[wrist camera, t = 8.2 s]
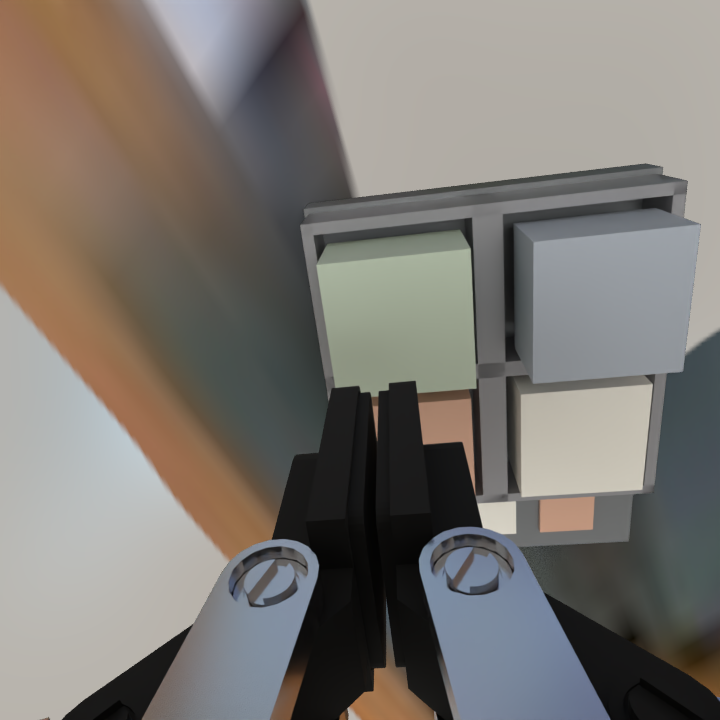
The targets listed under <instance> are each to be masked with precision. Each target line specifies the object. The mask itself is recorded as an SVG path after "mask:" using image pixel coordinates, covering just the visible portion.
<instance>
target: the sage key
mask: <svg viewBox="0 0 720 720" xmlns="http://www.w3.org/2000/svg"><path fill="white" fill-rule="evenodd" d="M316 266H317V273H318V279H319V286H320V292H321V298H322V305H323V311H324V318H325V324H326V331H327V337H328V344H329V350H330V356H331V363H332V369H333V376H334V382H335V388H339V387H350V386H359V387H360V391H361V393H363V392H370V393H371V397H377V396H378V393H379V391H386V390H389V383H395V382H406V381H416V387H417V393H426V392H439V391H451V390H463V389H476V388H477V387H476V363H475V339H474V315H473V291H472V267H471V248H470V247H469V245H468V243H467V241H466V239H465V238H464V236H463V234H462V232H461V230H460V229H457V230H448V231H439V232H430V233H421V234H412V235H403V236H394V237H385V238H376V239H366V240H357V241H348V242H339V243H330V244H327V246H326V248H325V249H324V251H323V253H322V255H321V257H320V259H319V261H318V263H317V265H316Z"/></svg>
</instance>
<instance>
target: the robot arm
mask: <svg viewBox="0 0 720 720" xmlns="http://www.w3.org/2000/svg"><path fill="white" fill-rule="evenodd" d="M386 599H387V607H388V614H389V621H390V628H391V636H392V643H393V650H394V657H395V664H396V667H406V673H407V681H408V689H410V690H411V691H412V692H413V693H414V694H415V695H416V696H418V697H419V698H420V699H421V700H422V701H423V702H425V703H426V704H427V705H428V706H429V707H430V708H431V709H433V710H434V715H435V720H720V698H719V697H716V696H715V695H714V694H713V693H712V692H711V691H710V690H709V689H708V688H706V687H705V686H703V685H702V684H700V683H699V682H698V681H696V680H695V679H693V678H692V677H691V676H689V675H687V674H686V673H684V672H682V671H680V670H679V669H677V668H675V667H673V666H672V665H670V664H668V663H666V662H665V661H663V660H661V659H659V658H658V657H656V656H654V655H652V654H651V653H649V652H647V651H645V650H644V649H642V648H640V647H638V646H637V645H635V644H633V643H631V642H630V641H628V640H626V639H624V638H623V637H621V636H619V635H617V634H616V633H614V632H612V631H610V630H609V629H607V628H605V627H603V626H602V625H600V624H598V623H596V622H595V621H593V620H591V619H589V618H588V617H586V616H584V615H582V614H581V613H579V612H577V611H575V610H574V609H572V608H570V607H568V606H567V605H565V604H563V603H561V602H560V601H558V600H556V599H554V598H553V597H551V596H549V595H547V594H546V593H544V592H543V591H542V589H541V587H540V585H539V584H538V582H537V580H536V578H535V576H534V574H533V572H532V570H531V568H530V567H529V565H528V563H527V561H526V559H525V557H524V555H523V553H522V552H521V551H520V550H519V548H518V547H517V546H516V544H515V543H514V542H512V541H511V540H510V539H508V538H507V537H505V536H504V535H502V534H500V533H497V532H495V531H492V530H489V529H485V528H483V526H482V522H481V517H480V513H479V509H478V505H477V500H476V496H475V492H474V488H473V483H472V479H471V475H470V471H469V466H468V462H467V458H466V454H465V449H464V445H463V442H449V443H437V444H424V445H423V440H422V431H421V422H420V413H419V404H418V395H417V387H416V381H406V382H395V383H389V390H386V391H379V393H378V432H377V437H376V429H375V421H374V413H373V406H372V398H371V393H370V392H363V393H361V391H360V387H359V386H350V387H339V388H332V389H331V394H330V399H329V404H328V409H327V414H326V419H325V424H324V429H323V434H322V439H321V444H320V450H319V453H311V454H299V455H296V456H295V457H294V459H293V462H292V466H291V470H290V473H289V477H288V481H287V485H286V488H285V492H284V496H283V500H282V503H281V507H280V511H279V515H278V518H277V522H276V526H275V530H274V533H273V537H272V540H269V541H265V542H262V543H258V544H255V545H253V546H251V547H249V548H247V549H245V550H243V551H242V552H240V553H239V554H238V555H237V556H235V557H234V558H233V559H232V560H231V561H230V562H229V563H228V564H227V566H226V567H225V568H224V570H223V571H222V573H221V574H220V576H219V578H218V580H217V582H216V584H215V586H214V587H213V589H212V591H211V593H210V595H209V596H208V598H207V600H206V602H205V604H204V606H203V607H202V609H201V611H200V613H199V615H198V617H197V619H196V620H195V622H194V624H193V625H191V626H190V627H188V628H187V629H186V630H184V631H183V632H181V633H180V634H178V635H177V636H175V637H174V638H172V639H171V640H170V641H168V642H167V643H165V644H164V645H163V646H161V647H160V648H158V649H157V650H155V651H154V652H153V653H151V654H150V655H148V656H147V657H145V658H144V659H142V660H141V661H140V662H138V663H137V664H135V665H134V666H132V667H131V668H129V669H128V670H127V671H125V672H124V673H122V674H121V675H119V676H118V677H116V678H115V679H114V680H112V681H111V682H109V683H108V684H106V685H105V686H104V687H102V688H101V689H99V690H98V691H96V692H95V693H93V694H92V695H91V696H89V697H88V698H86V699H85V700H83V701H82V702H81V703H80V704H79V705H77V706H76V707H75V708H74V709H73V710H72V711H71V712H69V713H68V714H67V715H66V716H65V717H64V718H63V719H62V720H348V710H347V708H348V707H349V706H350V705H351V704H352V703H353V702H354V701H355V700H356V699H357V698H358V697H359V696H361V695H362V694H363V693H364V692H369V691H373V690H374V668H385V667H386ZM41 720H50V719H49V717H48V718H45V719H41Z"/></svg>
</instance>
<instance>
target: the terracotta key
mask: <svg viewBox="0 0 720 720" xmlns="http://www.w3.org/2000/svg"><path fill="white" fill-rule="evenodd" d="M417 395H418V404H419V413H420V422H421V431H422V440H423V445H424V444H437V443H449V442H463V445H464V449H465V454H466V458H467V462H468V466H469V471H470V475H471V479H472V483H473V488H474V492H475V474H474V453H473V431H472V410H471V397H470V393H469V389H463V390H451V391H439V392H426V393H417ZM371 398H372V406H373V413H374V421H375V429H376V437H377V432H378V396H377V397H371Z"/></svg>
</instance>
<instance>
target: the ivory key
mask: <svg viewBox="0 0 720 720" xmlns="http://www.w3.org/2000/svg"><path fill="white" fill-rule="evenodd" d="M652 388H653V384H652V383H651V382H650V381H649V380H648V379H647V378H646V377H645V375H637V376H624V377H612V378H600V379H587V380H575V381H563V382H550V383H538V384H533V383H532V381H531V379H530V377H529V375H519V376H507V377H506V395H507V451H508V458H509V461H510V464H511V467H512V470H513V473H514V476H515V479H516V482H517V485H518V488H519V491H520V494H521V497H533V496H549V495H566V494H582V493H599V492H616V491H632V490H642V488H643V478H644V468H645V458H646V448H647V438H648V428H649V418H650V408H651V398H652Z"/></svg>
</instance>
